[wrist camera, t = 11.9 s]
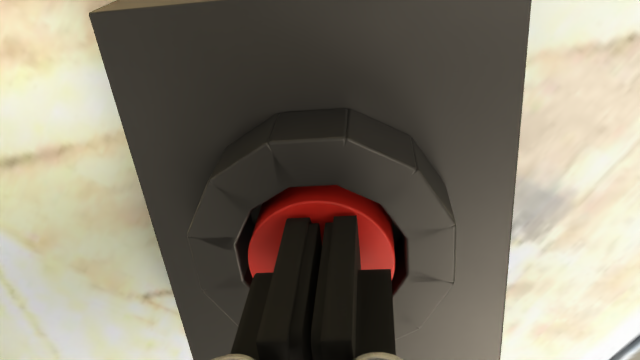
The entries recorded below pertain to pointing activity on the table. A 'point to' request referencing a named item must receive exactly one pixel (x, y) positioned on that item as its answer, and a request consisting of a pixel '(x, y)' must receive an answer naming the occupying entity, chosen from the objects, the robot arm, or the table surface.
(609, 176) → the table surface
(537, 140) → the table surface
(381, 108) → the button box
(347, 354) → the robot arm
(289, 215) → the red button
